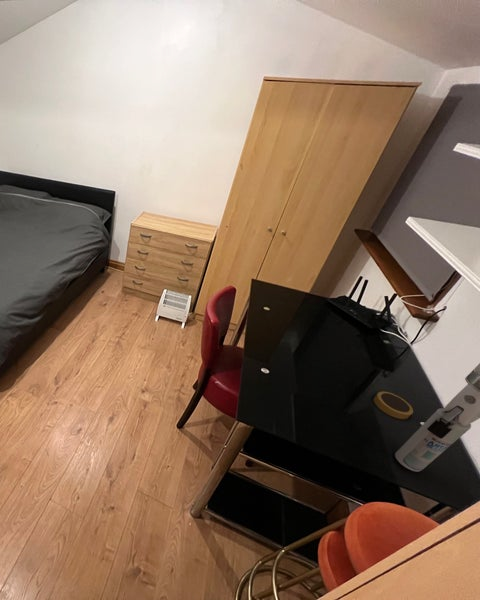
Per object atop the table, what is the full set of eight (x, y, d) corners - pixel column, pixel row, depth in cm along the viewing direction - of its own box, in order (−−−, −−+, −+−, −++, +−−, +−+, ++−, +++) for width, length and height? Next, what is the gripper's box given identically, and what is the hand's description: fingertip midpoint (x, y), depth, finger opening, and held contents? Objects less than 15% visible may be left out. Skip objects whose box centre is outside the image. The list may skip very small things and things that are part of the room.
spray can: (415, 455, 97) (461, 412, 86) (427, 475, 92) (478, 432, 81) (390, 448, 99) (432, 404, 88) (400, 467, 93) (446, 423, 83)
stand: (414, 414, 112) (419, 409, 111) (398, 422, 109) (403, 417, 107) (383, 393, 120) (388, 388, 119) (367, 400, 117) (371, 395, 115)
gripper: (494, 404, 72) (441, 452, 81) (529, 386, 78) (475, 432, 87) (452, 380, 77) (407, 427, 87) (487, 365, 83) (441, 410, 93)
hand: (441, 429), depth 87 cm, fingers closed on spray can, 6 cm apart
